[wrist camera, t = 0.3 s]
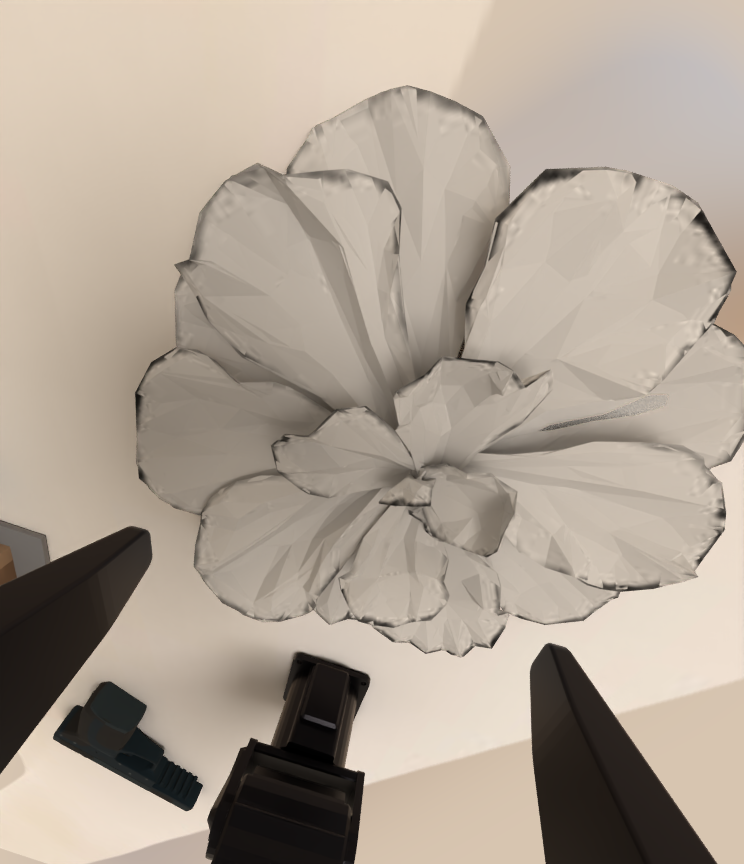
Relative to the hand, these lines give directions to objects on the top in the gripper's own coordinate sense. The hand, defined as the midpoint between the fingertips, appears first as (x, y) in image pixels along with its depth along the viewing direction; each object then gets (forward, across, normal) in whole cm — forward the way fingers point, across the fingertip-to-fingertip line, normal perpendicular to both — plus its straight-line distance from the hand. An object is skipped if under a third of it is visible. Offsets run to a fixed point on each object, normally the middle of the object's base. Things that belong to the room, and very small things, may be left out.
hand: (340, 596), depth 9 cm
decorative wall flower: (+15, -2, +4) cm, 16 cm away
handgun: (+14, +17, +48) cm, 53 cm away
